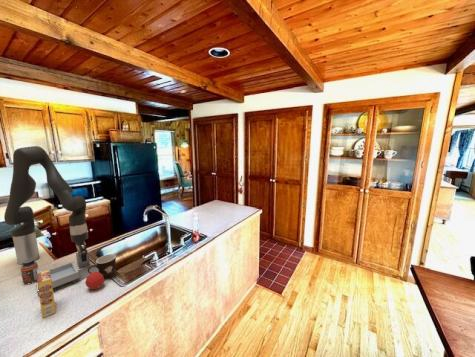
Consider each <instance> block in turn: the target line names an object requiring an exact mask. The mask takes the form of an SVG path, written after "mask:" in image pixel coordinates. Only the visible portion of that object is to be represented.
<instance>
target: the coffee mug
mask: <svg viewBox="0 0 475 357" xmlns="http://www.w3.org/2000/svg"><path fill="white" fill-rule="evenodd" d="M116 260H117V256H116V254H112V253H110V254H105V255H101V256H100V257H98V258H97V259H96V261H95V262H96V263H95V264H97V265H94V264H93V266H91V265H90V266H91V267H97V268H98V270H99V273H101V274H103V273H104V274H103V277H104V281H107V280H110V279H112V278H113V277H115V276H116V265H117V263H116ZM88 267H89V266H88ZM91 267H89V268H88V272H89V269H90V268H91ZM89 273H90V274H91V272H89Z"/></svg>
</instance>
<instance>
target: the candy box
mask: <svg viewBox="0 0 475 357" xmlns="http://www.w3.org/2000/svg"><path fill="white" fill-rule="evenodd" d="M47 270H48V271H46V270H43V271H44V272H43V271H41V272H42V273H39V274H37V281H36V282H37V285H38V290H39V297H38V298H39V304H40V305H39V306H40V310H41V318H42V319H44V318H46V317H48V316H50V315H53V314H55V313H56V304H55V296H54V291H53V287H52V280H51V275H50V270H49V269H47Z"/></svg>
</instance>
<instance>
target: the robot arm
mask: <svg viewBox="0 0 475 357" xmlns="http://www.w3.org/2000/svg"><path fill="white" fill-rule="evenodd" d="M12 155H13V156H12V167H13V168H12V178H11V179H12V180H11V183H10V189H9V196H8V197H9V198H8V201H7V202H8V203H7V205H6V208H5V212H4V218H3V219H4V222H5V224H6V225H9V226H14V225H18V224H19V225H20V224H21V225H20V226H19V227H17V228H15V229H13V231H12V232H11V234H12V235H11V236H12V241H13V246H14V250H15V251H14V252H15V257H16V260H17V264H18V265H23V261H25V260H28V259H34V262H36V261H37V260H38V259H39V258H40V251H39V246H38V240H37V235H36V225H35V215H34V210H33V208H32V207H31V206H29V205H28V206H27V205H25V206H23V205H24V204H25V203H27V202H28V201H29V200H30V199H31V198H32V197H33V196H34V194H35V192H36V188H37V182H36V181H35V179H34V178H33V177H32V176H31V175H30V173H29V170H30V168H31V166H33V165H35V166H36V165H38V164H39V165H41V166H42V167H43V169H44V171H45V176H46V183H47V185H48V187H49V189H51V191H52V192H53V193H54V194H55V195H56V196H57V198H58V200H59V202H60V205H61V207H62V208H63V209H64V210H66V211H68V212H71V214H69V216H68V223H69V233H70V239H71V242H72V243H75V246H76V250H77V253H78V252H80V254H81V259H82V262H85V261H87V256H86V255H87V251H88V250H87V249H88V248H87V243H86V242H85V241H86V240H87V239H88V238H89V232H88V225H87V222H86V210H87V201H86V199H85V198H84V197H83V196H81V195H76V196H73V195H72V193H73V191H74V190H73V188H72V187H71V186H70V185H69V183H68V182H67V181H66V180H65V179H64V178H63V176H62V175H61V174H60V172H59V171H58V169H57V167H56V166H55V163H54V162H53V161H52V159H51V157H50V155H49V154H48V153H47V151H46V150H45V149H44V148H42V147H41V146H38V145H33V146H26V147H19V148H16V149H15V150H14V152H13V154H12ZM83 251H85V253H82V252H83Z"/></svg>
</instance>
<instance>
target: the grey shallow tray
mask: <svg viewBox="0 0 475 357" xmlns="http://www.w3.org/2000/svg"><path fill="white" fill-rule="evenodd" d="M48 270H50V275H51V280H52V287H53V288H54V287H57V286H59V285H62V284H65V283H67V282H70V281H72V282H74V283H76V282H75V281H76V280H77V278H80V277H79V271H78V270H79V268H78V266H76V264H75V261H70V262H68V263H65V264H62V265H59V266H56V267H53V268H49V269H47V270H43V271H41V269H40V268H38V269H37V274H39V273H42V272H44V271H48Z"/></svg>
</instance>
